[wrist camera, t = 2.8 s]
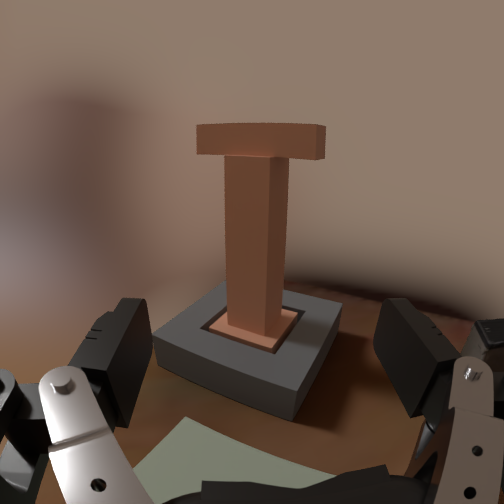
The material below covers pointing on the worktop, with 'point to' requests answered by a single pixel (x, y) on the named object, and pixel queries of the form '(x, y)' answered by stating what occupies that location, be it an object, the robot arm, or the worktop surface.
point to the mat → (213, 464)
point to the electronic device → (487, 343)
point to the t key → (257, 223)
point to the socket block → (250, 353)
